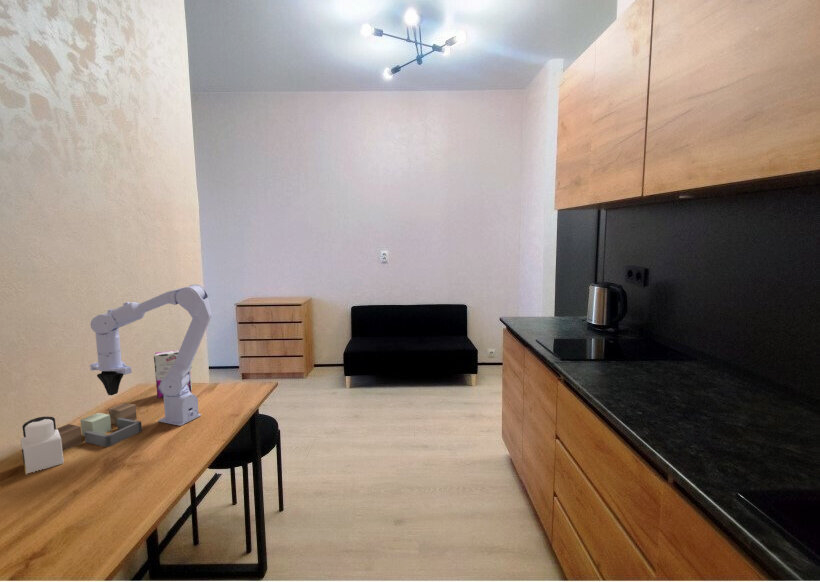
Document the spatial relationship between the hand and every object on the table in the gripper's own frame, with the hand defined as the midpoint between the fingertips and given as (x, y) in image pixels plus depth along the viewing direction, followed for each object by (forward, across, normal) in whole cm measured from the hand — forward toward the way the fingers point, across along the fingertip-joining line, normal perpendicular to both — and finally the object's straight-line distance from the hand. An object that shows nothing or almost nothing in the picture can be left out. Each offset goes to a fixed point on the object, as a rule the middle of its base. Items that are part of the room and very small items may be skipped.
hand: (112, 394), depth 121 cm
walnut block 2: (+10, 0, -2) cm, 10 cm away
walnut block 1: (+10, 0, +14) cm, 17 cm away
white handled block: (+10, -4, +22) cm, 24 cm away
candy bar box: (+10, +4, -26) cm, 28 cm away
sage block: (+10, 0, +6) cm, 12 cm away
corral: (+10, -7, +6) cm, 14 cm away
